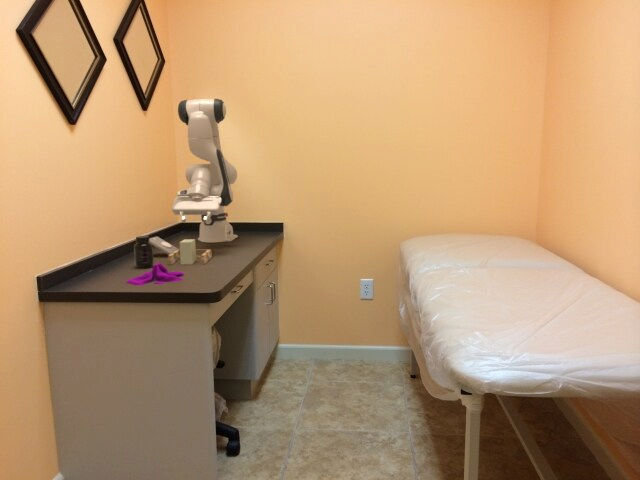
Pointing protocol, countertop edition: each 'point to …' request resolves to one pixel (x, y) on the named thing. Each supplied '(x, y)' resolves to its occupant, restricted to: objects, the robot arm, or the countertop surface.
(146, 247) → the supplement bottle
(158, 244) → the light switch
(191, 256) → the pale olive cuboid
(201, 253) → the wooden frame
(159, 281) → the cloth
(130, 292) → the countertop surface
